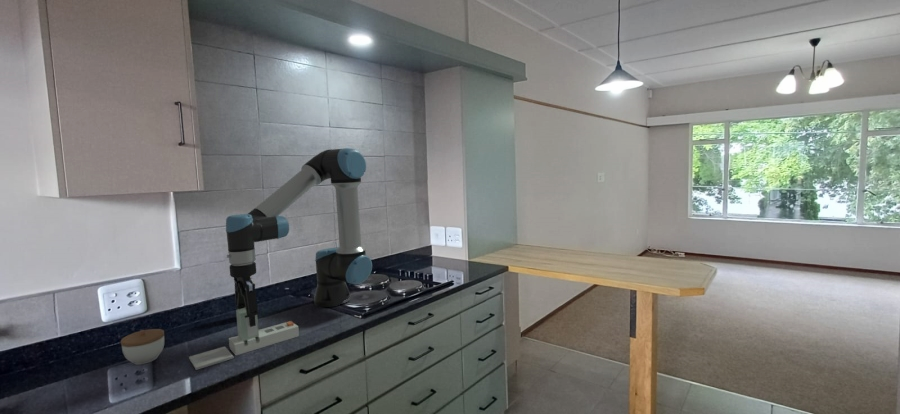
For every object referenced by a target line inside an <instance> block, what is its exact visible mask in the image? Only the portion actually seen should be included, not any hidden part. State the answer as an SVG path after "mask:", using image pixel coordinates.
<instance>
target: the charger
mask: <svg viewBox="0 0 900 414" xmlns="http://www.w3.org/2000/svg"><path fill="white" fill-rule="evenodd" d="M235 315H236V326H237V327H236V328H237V336H238V337H239V338H240V339H241V340H242V341H244V344H247V340H248V339H252V338H255V339H256V337H259V331H258V330H259V322H258V321H259V320H258V315H256V323H257V335H254V336H250V337H248V335H247V323H246V318H245V316H246V315H247V312H246V308H243V309H239V310H238V309H236V310H235Z"/></svg>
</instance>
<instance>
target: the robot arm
mask: <svg viewBox="0 0 900 414" xmlns="http://www.w3.org/2000/svg"><path fill="white" fill-rule="evenodd" d="M366 170H367V162H366V159H365V157H364V155H363V154H362V153H361V152H360V151H359V150H358V149H355V148H347V147H345V148H337V149H336V148H334V149H325V150H323V151H320V152H319V153H317V154H316V155H315V156H313V157H311V159H309V160H307V162H305V163H304V164H303V165H302V166H301V169H300V171H299V172H297V173H296V174H295V175H293V176H292V177H291V178H290V179H289V180H287V182H285V183H283V185H281V186H280V187H278V189H277V190H275V191H274V192H273V193H271V194H270V195H269V196H268V197H267V198H265V199H264V200H263V201H262V202H260V203H259V204H258V205H257V206H256V207H254V208H253V209H252V210H251V211H249V212H248V213H239V214H231V215H229V216H227V217H226V219H225V232H226V241H227V250H228V254H227V255H226V258H227V259H228V263H229V264H230V265H229V276H230V277H231V278H233V282H234V304H235V306H236V308H237V310H239V309H243V308H244V307H246V312H247V315H246V316H245V318H246V323H247V335H248V337H250V336H254V335H257V323H256V315H257V316H258V315H259V311H258V310H259V309H258V303H257V295H256V284H255V283H254V281H253V282H252V280H253V279H252V280H251V278H252V276H254V275H256V274H257V263H256V262H255V261H256V249H255V243H259V242H264V241H270V240H279V239H282V238H285V237H287V236H288V234H289V232H290V223H289V221H288V219H287V218H286V217H285V216H283V215H281V214H282V213H283V212H285V211H286V209H288V208H290V207H291V206H292V205H293V204H294V203H295V202H296V201H297V200H299V199H300V198H301V197H302V196H303V195H304V194H305V193H307V192H308V191H309V190H311V188H313V187H314V186H315V185H316V186H318V185H320V184H321V183H323V182H324V181H326V180H328V179H329V180H330V185H332V186H333V187H334V188H335V199H336V202H335V203H336V213H337V215H336V217H337V229H338V230H337V231H338V242H339V245H338V247H329V248H325V249H320V250H318V251H316V253H315V270H316V271H315V272H316V284H317V285H316V288H315V293H314V297H313V304H314V305H315V306H317V307H322V308H331V307H333V308H334V307H338V305H339V306H341V305H340V304H341V303H342V302H343V301H344V300H346V299H348V298H349V297H350V298H351V293H350V290H349V287H348V285H347V283H348V284H353V285H354V284H355V285H359V284H362V283H364V282H366V280H368V278H369V277H370V275H371V274H372V270H373V262H372V258H370V257H369V256H367V255H366V247H364V246H363V245H362V240H361V239H362V237H361V236H362V235H361V220H360V208H359V207H360V206H359V203H360V202H359V189H358V188H359V187H358V186H359V185H360V184H361V182H362V177H363V176H364V175H365V173H366Z"/></svg>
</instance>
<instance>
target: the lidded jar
mask: <svg viewBox="0 0 900 414" xmlns="http://www.w3.org/2000/svg"><path fill="white" fill-rule="evenodd" d="M120 345H121V351H122V354H123V356H124V358H125V359H126V360H127V361H128V362H131V363H132V364H134V365H145V364H149V363H152V362H153V361H155V360H156V359H158V357H159V355H160V354H161V353H162V351H163V350H164V346H165V331H164V329H161V328H160V329H159V328H151V329H142V330H141V329H140V330H139V331H135V332H133V333H130V334H128V335H126V336H124V337H122V338H121V340H120Z"/></svg>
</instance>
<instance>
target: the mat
mask: <svg viewBox="0 0 900 414" xmlns="http://www.w3.org/2000/svg"><path fill="white" fill-rule="evenodd" d="M232 359H234V355H233V354H232V353H231V351H229V348H227V347H226V346H225V345H224V346H221V347H217V348H215V349H211V350H207V351H203V352H200V353H196V354H193V355H190V356H188V360H189V361H190V362H191V364H192V366H193V367H194V369H195V370H196V371H197V370H200V369H203V368H207V367H209V366H213V365H216V364H220V363H223V362H226V361H228V360H232Z"/></svg>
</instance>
